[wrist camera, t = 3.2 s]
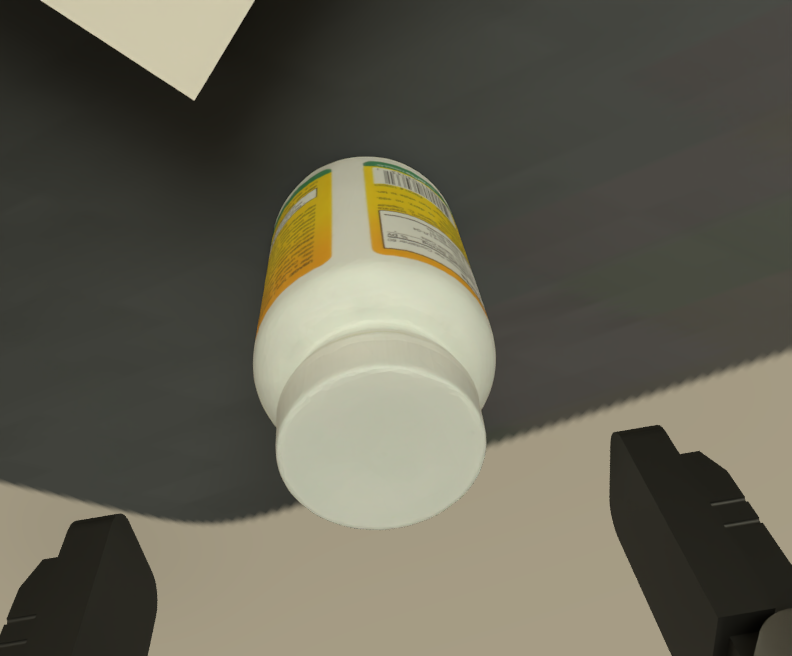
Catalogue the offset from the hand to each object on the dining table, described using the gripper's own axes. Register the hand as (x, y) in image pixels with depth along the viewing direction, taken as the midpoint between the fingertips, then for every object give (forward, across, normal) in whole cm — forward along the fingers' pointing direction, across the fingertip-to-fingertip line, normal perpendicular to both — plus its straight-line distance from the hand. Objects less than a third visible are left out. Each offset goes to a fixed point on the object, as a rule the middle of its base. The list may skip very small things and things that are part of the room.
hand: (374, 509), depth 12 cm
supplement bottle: (+12, 0, 0) cm, 12 cm away
